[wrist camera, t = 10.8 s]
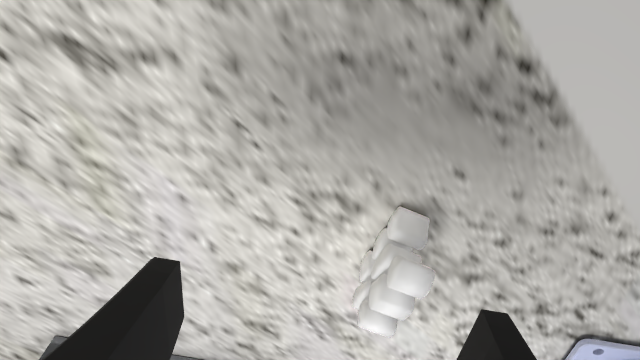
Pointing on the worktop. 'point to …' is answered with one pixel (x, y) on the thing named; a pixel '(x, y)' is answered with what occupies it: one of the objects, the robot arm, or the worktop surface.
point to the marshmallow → (393, 274)
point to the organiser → (59, 340)
